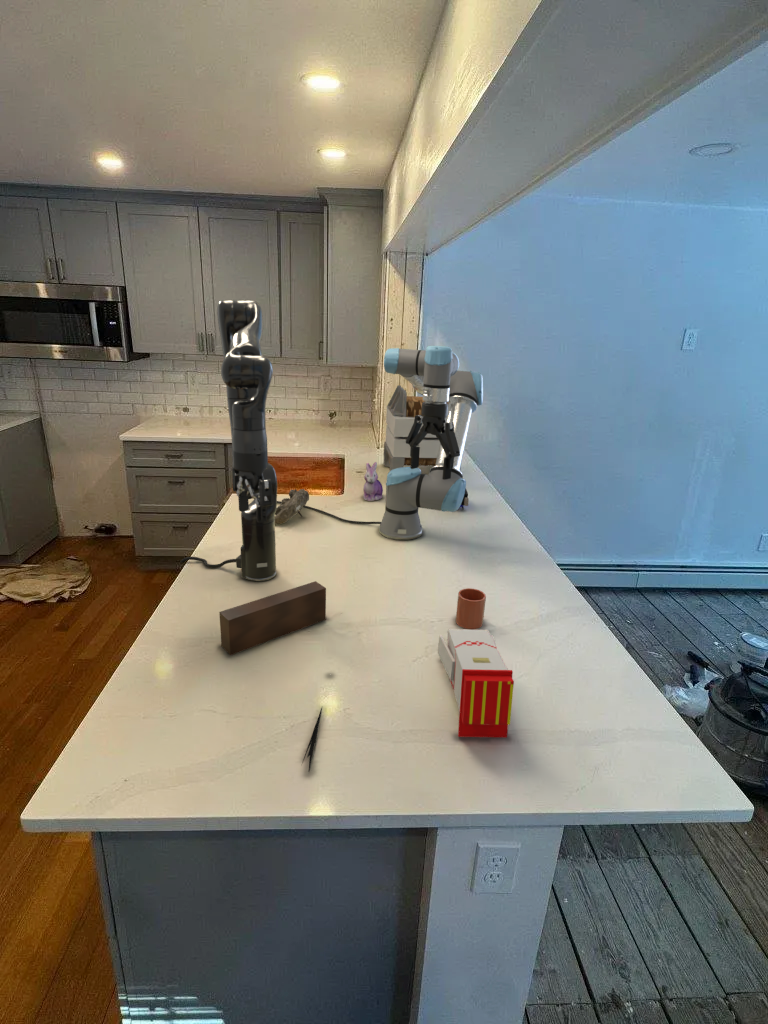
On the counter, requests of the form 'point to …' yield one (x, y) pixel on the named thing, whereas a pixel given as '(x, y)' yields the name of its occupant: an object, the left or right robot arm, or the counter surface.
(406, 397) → the light grey boxy piece
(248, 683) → the counter surface
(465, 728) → the toy
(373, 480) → the figurine
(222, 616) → the walnut box
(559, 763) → the counter surface
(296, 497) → the fossil
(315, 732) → the feather
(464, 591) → the terracotta cup
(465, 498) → the figurine character
